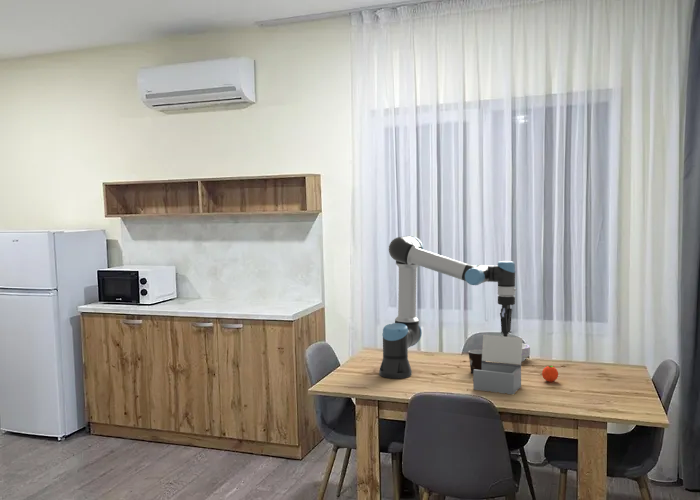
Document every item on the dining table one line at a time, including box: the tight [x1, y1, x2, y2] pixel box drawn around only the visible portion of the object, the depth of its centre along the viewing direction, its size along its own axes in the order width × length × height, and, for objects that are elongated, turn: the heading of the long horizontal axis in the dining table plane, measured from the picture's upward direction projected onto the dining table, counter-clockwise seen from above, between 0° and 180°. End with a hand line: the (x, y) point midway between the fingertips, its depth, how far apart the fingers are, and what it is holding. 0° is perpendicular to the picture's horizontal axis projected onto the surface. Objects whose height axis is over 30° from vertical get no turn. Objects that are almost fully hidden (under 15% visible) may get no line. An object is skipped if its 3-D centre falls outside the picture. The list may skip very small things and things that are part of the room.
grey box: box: [472, 361, 522, 395], centre depth 268 cm, size 17×13×10 cm
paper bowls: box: [521, 342, 531, 363], centre depth 318 cm, size 15×15×8 cm
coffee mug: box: [468, 349, 482, 374], centre depth 295 cm, size 12×9×10 cm
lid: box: [481, 334, 523, 366], centre depth 274 cm, size 17×12×2 cm
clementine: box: [541, 365, 559, 383], centre depth 277 cm, size 8×7×7 cm
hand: (506, 347), depth 280 cm, fingers closed
